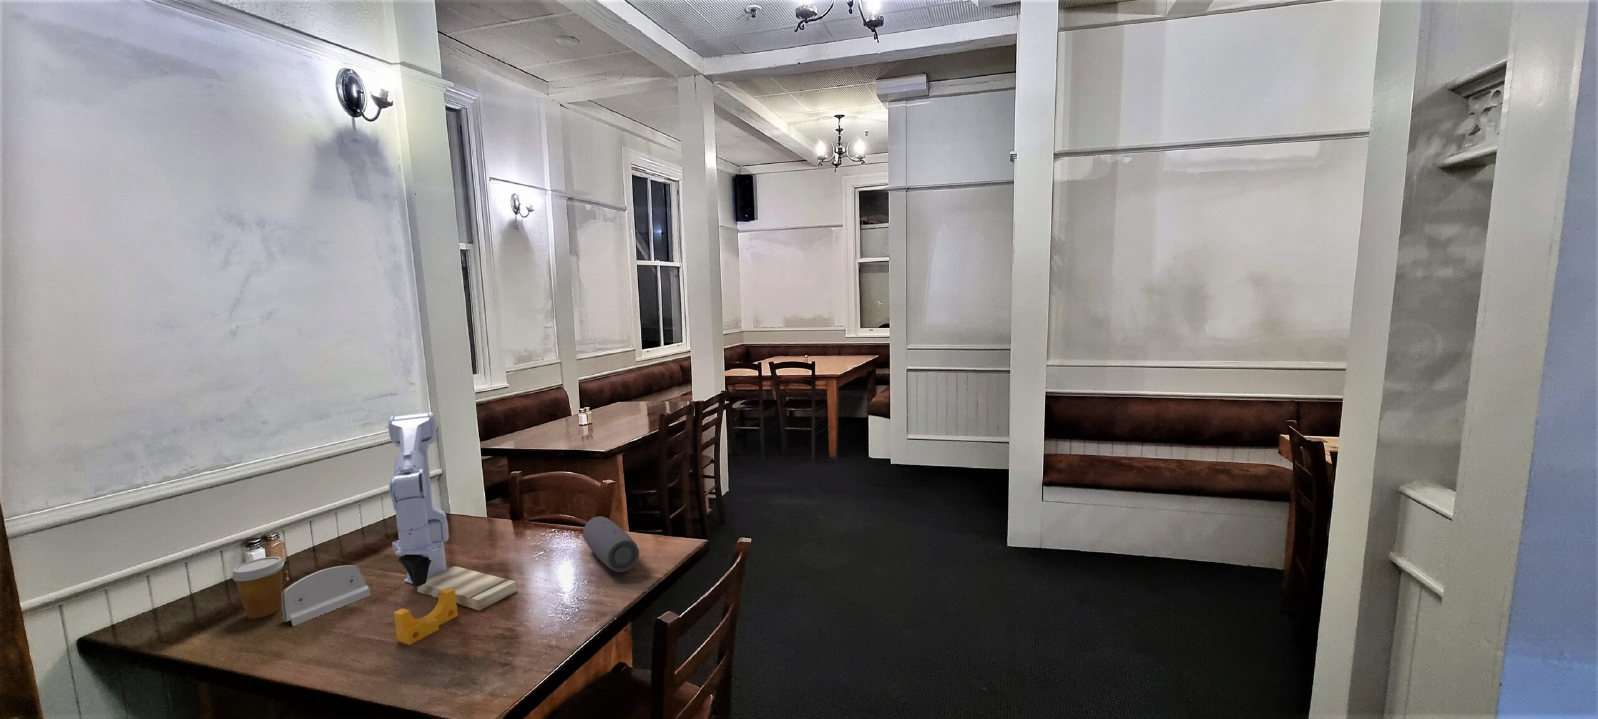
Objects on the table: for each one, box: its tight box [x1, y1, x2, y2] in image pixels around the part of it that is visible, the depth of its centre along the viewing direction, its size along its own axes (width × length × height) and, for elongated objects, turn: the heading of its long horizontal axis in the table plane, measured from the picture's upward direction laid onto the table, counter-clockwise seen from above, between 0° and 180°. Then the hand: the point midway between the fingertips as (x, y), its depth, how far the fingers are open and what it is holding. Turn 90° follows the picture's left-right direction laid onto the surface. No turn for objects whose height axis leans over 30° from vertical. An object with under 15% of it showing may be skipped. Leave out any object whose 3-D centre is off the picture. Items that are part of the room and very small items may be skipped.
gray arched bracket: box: [281, 564, 372, 627], centre depth 148 cm, size 17×5×10 cm, turn 149°
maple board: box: [416, 565, 517, 611], centre depth 153 cm, size 24×10×3 cm, turn 63°
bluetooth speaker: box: [582, 515, 640, 573], centre depth 166 cm, size 23×9×10 cm, turn 34°
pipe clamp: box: [393, 588, 459, 646], centre depth 135 cm, size 12×4×6 cm, turn 153°
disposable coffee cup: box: [230, 556, 285, 620], centre depth 147 cm, size 10×10×12 cm
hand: (420, 584), depth 139 cm, fingers closed
